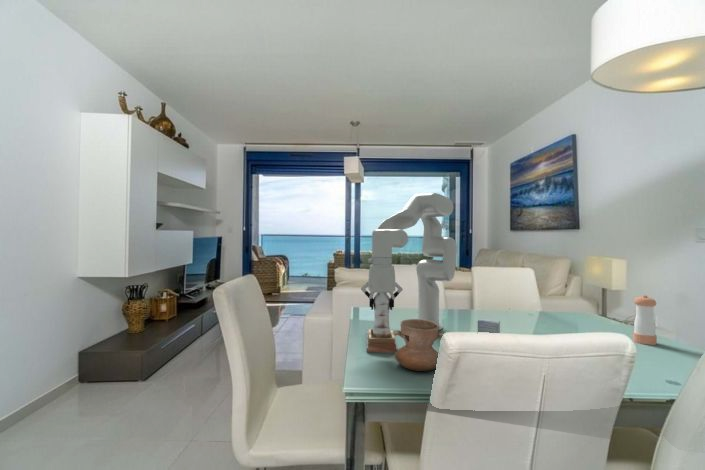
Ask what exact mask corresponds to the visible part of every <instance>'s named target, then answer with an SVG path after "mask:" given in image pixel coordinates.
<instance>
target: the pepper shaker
mask: <svg viewBox="0 0 705 470" xmlns="http://www.w3.org/2000/svg"><path fill="white" fill-rule="evenodd" d="M633 302H634V305H635V306H636V307H635V319H634V322H633V325H634V327H633V328H634V331H633V332H632V335H633V336H632V340H633V342H635V343H637V344H640V345H641V344H642V345H647V346H656V345H657V343H658V340H657V336H658V335H656V328H657V327H656V321H655V315H654V314H655V313H654V312H655V309H654V307H655V306H657V302H656V300H655V299H654V298H652V297H649V296H648V295H646V294H645V295H644V294H643V295H642V296H638V297H635V298H634V299H633Z"/></svg>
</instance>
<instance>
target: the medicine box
mask: <svg viewBox="0 0 705 470" xmlns="http://www.w3.org/2000/svg"><path fill="white" fill-rule="evenodd" d="M478 332H489V333H500V334H501V321H500V320H495V319H487V318H479V319H478V320H477V333H478Z"/></svg>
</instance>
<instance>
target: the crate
mask: <svg viewBox="0 0 705 470" xmlns="http://www.w3.org/2000/svg"><path fill="white" fill-rule="evenodd" d="M395 341H396V337H395V335H394V334H393V329H392V328H390V337H389V338H374V336H373V328H368V343H386V344H395Z"/></svg>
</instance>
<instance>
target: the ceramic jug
mask: <svg viewBox="0 0 705 470" xmlns="http://www.w3.org/2000/svg"><path fill="white" fill-rule="evenodd" d="M438 328H439V325H438V324H437V323H435V322H433V321H429V320H424V319H418V318H410V319H409V318H407V319H403V320H401V321H400V330H397V329H396V330H394V331H393V330H392V331H393V334H394V336H399V337H400V338H402V339H403V340H404V342H405V345H402V347H400V348H399V349H398V351H397V352H396V353H394V358H395V360H396V361H397V363H398V364H399V365H400V366H402V367H404V368H405V369H407V370H410V371H415V372H428V371H433V370H435V369H437V368H436V364H437V358H438V353H439V351H438V350H436V349H435V348H434V346H433V344H434V342H435V341H437V340H438V339H441V338H442V336H443V334H444V333H438V332H439V330H438ZM442 339H443V338H442Z"/></svg>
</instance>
